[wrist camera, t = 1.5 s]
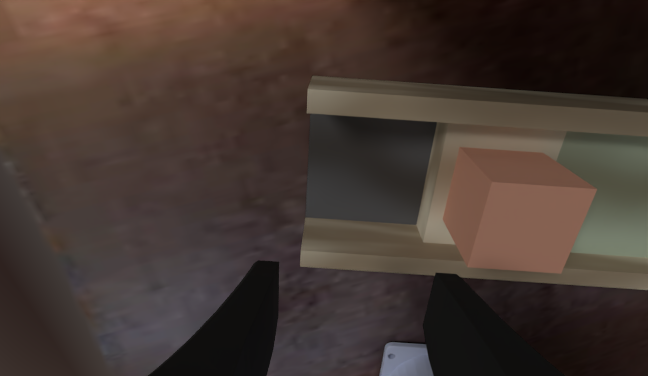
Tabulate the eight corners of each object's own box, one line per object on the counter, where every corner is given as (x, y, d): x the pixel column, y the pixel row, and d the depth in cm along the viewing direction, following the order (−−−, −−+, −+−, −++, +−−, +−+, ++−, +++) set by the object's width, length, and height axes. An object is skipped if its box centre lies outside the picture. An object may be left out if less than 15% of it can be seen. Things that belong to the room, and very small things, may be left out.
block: (518, 224, 19) (561, 273, 16) (442, 219, 19) (467, 267, 16) (543, 152, 17) (597, 189, 14) (459, 147, 17) (492, 182, 14)
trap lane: (743, 259, 22) (810, 301, 19) (305, 230, 22) (300, 266, 19) (843, 112, 18) (950, 133, 15) (312, 75, 18) (307, 89, 15)
